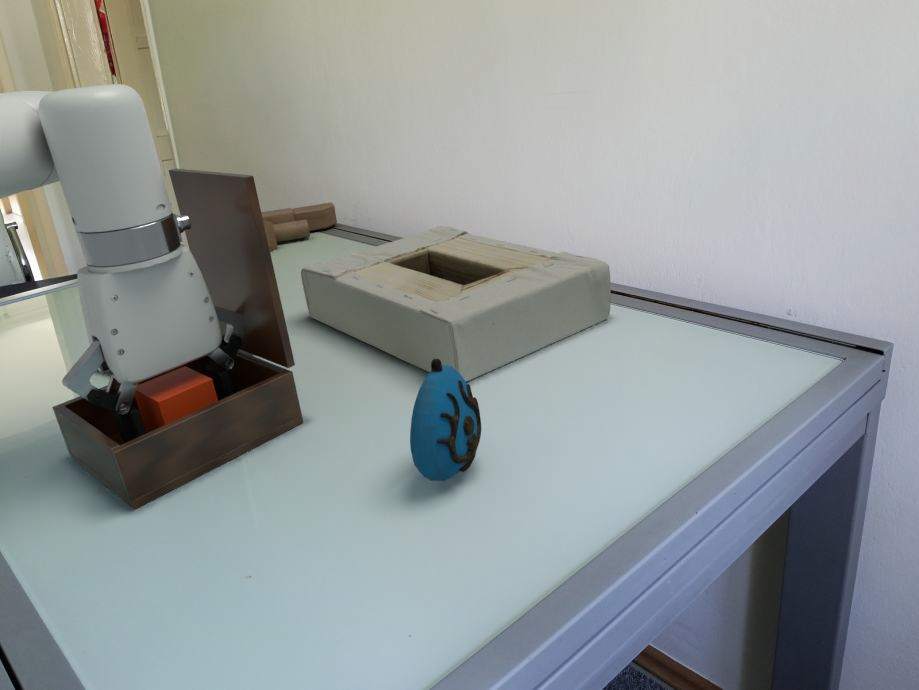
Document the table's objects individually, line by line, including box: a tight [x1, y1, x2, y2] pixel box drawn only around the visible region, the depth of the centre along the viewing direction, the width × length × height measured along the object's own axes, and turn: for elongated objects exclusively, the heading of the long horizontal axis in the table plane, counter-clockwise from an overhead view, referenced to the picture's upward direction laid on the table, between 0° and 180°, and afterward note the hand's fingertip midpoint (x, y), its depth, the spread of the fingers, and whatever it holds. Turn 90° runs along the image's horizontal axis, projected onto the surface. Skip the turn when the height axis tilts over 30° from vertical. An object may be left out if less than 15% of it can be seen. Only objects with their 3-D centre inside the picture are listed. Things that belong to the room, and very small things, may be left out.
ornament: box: [409, 358, 482, 482], centre depth 57 cm, size 8×5×10 cm, turn 156°
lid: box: [168, 168, 296, 369], centre depth 68 cm, size 17×14×1 cm
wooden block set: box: [261, 202, 338, 252], centre depth 133 cm, size 17×6×18 cm
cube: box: [135, 366, 218, 433], centre depth 67 cm, size 5×5×5 cm
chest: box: [52, 350, 304, 511], centre depth 67 cm, size 17×14×5 cm
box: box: [300, 225, 612, 382], centre depth 88 cm, size 23×8×32 cm
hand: (184, 424), depth 67 cm, fingers open, 8 cm apart
